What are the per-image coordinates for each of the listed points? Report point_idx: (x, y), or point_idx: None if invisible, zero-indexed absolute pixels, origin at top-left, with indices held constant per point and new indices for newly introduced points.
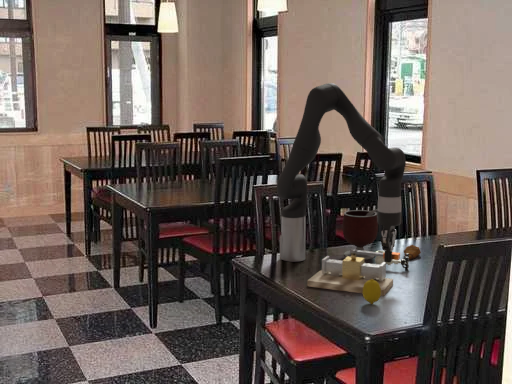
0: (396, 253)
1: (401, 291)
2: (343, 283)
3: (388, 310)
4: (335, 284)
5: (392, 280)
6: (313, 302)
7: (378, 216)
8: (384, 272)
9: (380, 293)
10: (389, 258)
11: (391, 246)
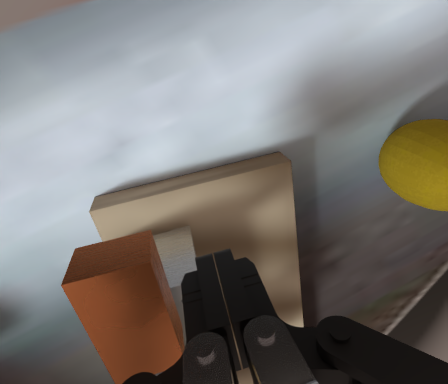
0: (114, 296)
1: (167, 115)
2: (285, 314)
3: (442, 49)
4: (302, 325)
5: (106, 205)
6: (425, 285)
7: None
8: None
9: (437, 120)
10: (253, 272)
11: (287, 370)
